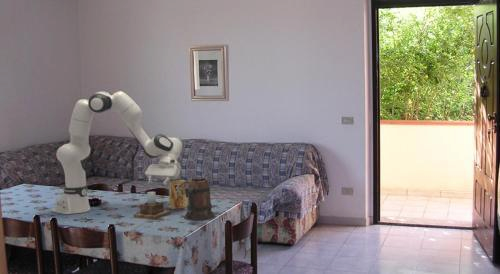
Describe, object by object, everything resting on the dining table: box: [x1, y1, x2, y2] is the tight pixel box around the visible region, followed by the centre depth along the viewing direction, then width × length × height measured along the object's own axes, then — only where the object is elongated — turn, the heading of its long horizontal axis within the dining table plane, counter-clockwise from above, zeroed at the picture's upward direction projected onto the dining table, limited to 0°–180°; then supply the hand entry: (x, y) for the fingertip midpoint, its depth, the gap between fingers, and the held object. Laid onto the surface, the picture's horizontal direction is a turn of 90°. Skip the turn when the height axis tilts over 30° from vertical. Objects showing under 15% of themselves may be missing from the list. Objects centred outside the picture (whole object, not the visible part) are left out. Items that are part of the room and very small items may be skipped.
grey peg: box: [146, 191, 157, 205], centre depth 298 cm, size 4×4×11 cm
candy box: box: [168, 179, 187, 210], centre depth 314 cm, size 9×4×15 cm, turn 119°
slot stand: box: [133, 201, 171, 220], centre depth 298 cm, size 14×14×6 cm
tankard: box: [183, 177, 217, 222], centre depth 288 cm, size 24×17×20 cm
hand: (156, 184), depth 301 cm, fingers open, 8 cm apart
